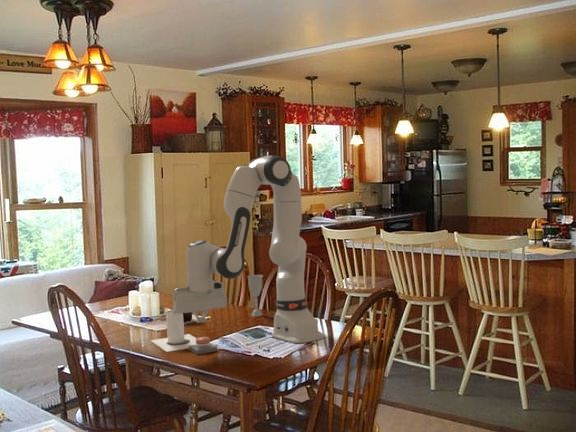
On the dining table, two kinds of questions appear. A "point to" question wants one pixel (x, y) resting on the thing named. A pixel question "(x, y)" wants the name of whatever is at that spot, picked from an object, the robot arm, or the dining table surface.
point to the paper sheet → (174, 347)
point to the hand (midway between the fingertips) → (201, 322)
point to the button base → (203, 348)
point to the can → (175, 327)
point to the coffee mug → (187, 316)
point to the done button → (202, 340)
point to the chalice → (255, 291)
